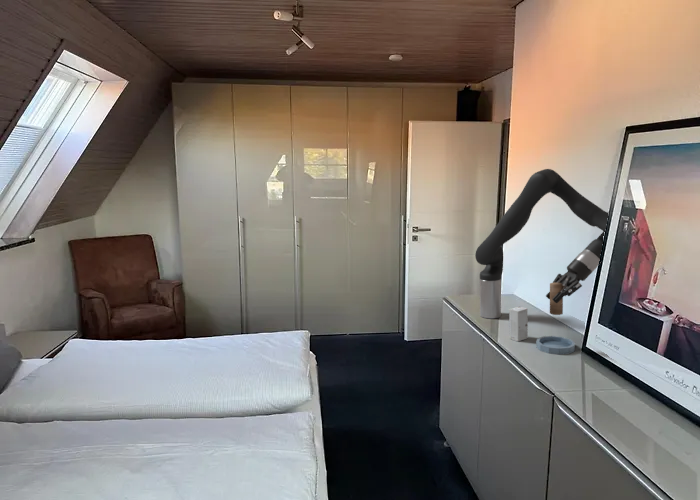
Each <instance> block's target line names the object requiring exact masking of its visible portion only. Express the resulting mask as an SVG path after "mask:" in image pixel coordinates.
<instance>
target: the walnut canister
mask: <svg viewBox="0 0 700 500" xmlns="http://www.w3.org/2000/svg"><path fill="white" fill-rule="evenodd" d="M562 285H563V284H562V283H553V282H550V283H549V292H550V299H549V314H550V315H553V316H554V315H555V316H561V315H564V314H563V313H564V297H563V298H562V299H561V300H560V301H559V302H558V303H555V302H554V301H553V300H552V299H553V298H554V296H555V295H556V294H557V293H558V292H560V290H561V289H562Z"/></svg>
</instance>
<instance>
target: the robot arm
mask: <svg viewBox="0 0 700 500" xmlns="http://www.w3.org/2000/svg"><path fill="white" fill-rule="evenodd" d="M549 193H551V194H553V195H554V196H557V197H558V198H559V199H561V200H563V202H564V203H565V204H566V205H567V206H568V207H569V210H570V211H571V212H572V213H573V214H574V215H575V216H576V217H577V218H579V219H580V220H582V221H583V222H584V223H586V224H588V226H591V227H594V228H595V227H596V228H598V229H600V230H601V231H602V232H601V233H600V235H599V236H598V237H597V238H595V239H593V240H592V241H591V242H590V243H589V244H587V246H586V247H585V248H584V249H583V250H582V251H581V252H580V253H578V255H576V257H575V258H574V259H573V260H572V261H570V263H569V264H568V265H567V266H566V270H567V272H565V273H564V274H561V273H558V274H557V275H556V277H555V278H554V280H553V281H552V283H562V284H563V285H562V289H561V290H560V292H558V293H557V294H556V295H555V296H554V298H553V299H552V300H553V301H554V302H555V303H558V302H559V301H560V300H561V299H562V298H563V299H564V297H567V296H568V297H570V296H572V295H573V294H574V293H576V292H577V291H578V290H579V289H581V288H582V287H583V285H582V284H581V281H582V282H584V281H585V280H587V278H588V277H589V276H591V274H592V273H593V272H594V271H595V270H596V269H597V268H598V266H599V265H600V264H599V261H600V254H601V250H602V244H603V236H604V232H605V229H606V224H607V218H608V213H609V212H608V211H605V210H604V209H602V208H601V207H599V206H598V205H596V204H595V203H594V202H592V201H590V200H589V199H588V198H587V197H585V196H583V195H582V194H581V193H580V192H579V191H577V189H575V188H574V187H573V186H572V185H570V184H569V183H568V182H567V181H566V180H565V179H564V178H563V177H562V176H561V175H560V174H559V173H558V172H557V171H556V170H553V169H552V168H545V169H541V170H539V171H537V172H534V173H533V174H531V176H530V177H529V178H528V180H527V182H526V184H525V186H524V187H523V189H522V191H521V192H520V193H519V195H518V197H517V198H516V199H515V200H514V201H513V203H512V204H511V205H510V207H509V208H508V210H506V212H505V213H504V214H503V216H501V218H500V220H499V221H498V223H497V224H496V226H495V227H494V228H493V229H492V231H491V233H490V234H489V235H488V236H487V237H486V238H485V239H484V240H483V242H481V243H480V244H479V246H478V247H477V249H476V250H475V256H474V257H475V261H476V262H477V263H478V264H479V265H482V266H484V268H483V270H481V271H480V273H479V316H480V317H481V318H484V319H499V318H501V316H502V274H503V272H504V251H503V247H502V246H503V245H504V244H506V243H507V242H509V241H510V240H511V239H513V238H514V237H515V236H517V235H518V234H519V233H520V232H521V231H522V230H523V228H524V227H525V226H526V224H527V223H528V221H529V219H530V216H531V215H532V214H531V213H532V212H533V209H534V207H535V206H536V205H537V204H538V203H539V202H540V201H541V200H542V198H543V197H544V196H546V195H547V194H549ZM598 264H599V265H598ZM545 298H546V299H548V300H550V291H548V292H547V293H546V295H545Z"/></svg>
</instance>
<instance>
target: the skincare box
mask: <svg viewBox="0 0 700 500" xmlns="http://www.w3.org/2000/svg"><path fill="white" fill-rule="evenodd" d="M508 311H509V315H508V316H509V321H508V322H509V340H512V341H516V342H520V341H523V340H526V339H528V331H529V330H528V327H529V326H528V322H529V321H528V317H529V316H528V308H526V307H522V306H517V307H513V308H509V310H508Z"/></svg>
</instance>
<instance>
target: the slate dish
mask: <svg viewBox="0 0 700 500" xmlns="http://www.w3.org/2000/svg"><path fill="white" fill-rule="evenodd" d="M535 343H536V344H535V346H536V348H537V350H539V351H540V352H544V353H547V354H552V355H568V354H571V353H573V352H575V350H576V344H575V343H576V342H575V341H574V340H572V339H571V338H568V337H564V336H560V335H559V336H557V335H547V336H546V335H545V336H544V335H543V336H541V337H537V338H536V341H535Z"/></svg>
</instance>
